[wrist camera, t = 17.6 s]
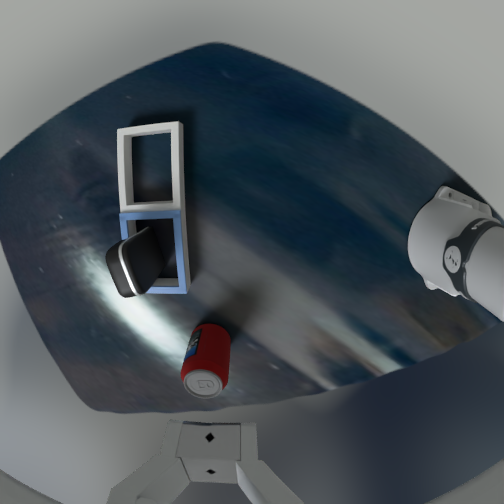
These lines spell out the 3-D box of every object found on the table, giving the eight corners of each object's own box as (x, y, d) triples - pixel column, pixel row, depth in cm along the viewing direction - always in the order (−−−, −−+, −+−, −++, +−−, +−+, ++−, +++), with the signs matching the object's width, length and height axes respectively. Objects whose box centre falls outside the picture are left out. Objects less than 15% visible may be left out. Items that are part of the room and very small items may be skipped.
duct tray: (183, 124, 36) (177, 120, 33) (190, 284, 43) (186, 293, 40) (125, 131, 36) (115, 128, 33) (137, 283, 43) (130, 292, 40)
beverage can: (188, 321, 45) (173, 367, 34) (228, 319, 45) (224, 366, 34) (195, 353, 47) (184, 401, 36) (233, 352, 47) (230, 401, 36)
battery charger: (131, 231, 41) (97, 253, 30) (152, 223, 41) (122, 244, 30) (146, 272, 43) (118, 305, 32) (167, 266, 43) (144, 299, 32)
